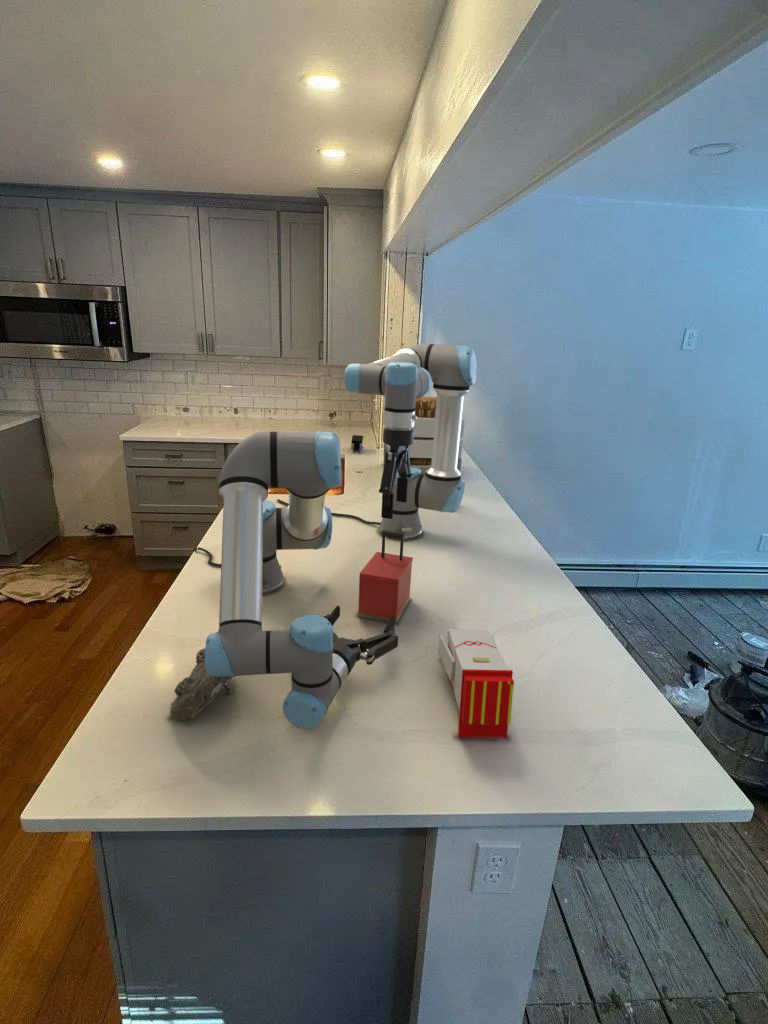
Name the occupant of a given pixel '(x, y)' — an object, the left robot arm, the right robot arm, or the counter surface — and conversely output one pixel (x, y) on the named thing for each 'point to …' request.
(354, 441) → the figurine character
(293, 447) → the left robot arm
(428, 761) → the counter surface
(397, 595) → the chest
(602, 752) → the counter surface
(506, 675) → the toy
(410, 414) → the right robot arm
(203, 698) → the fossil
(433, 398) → the white boxy piece
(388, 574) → the lid
